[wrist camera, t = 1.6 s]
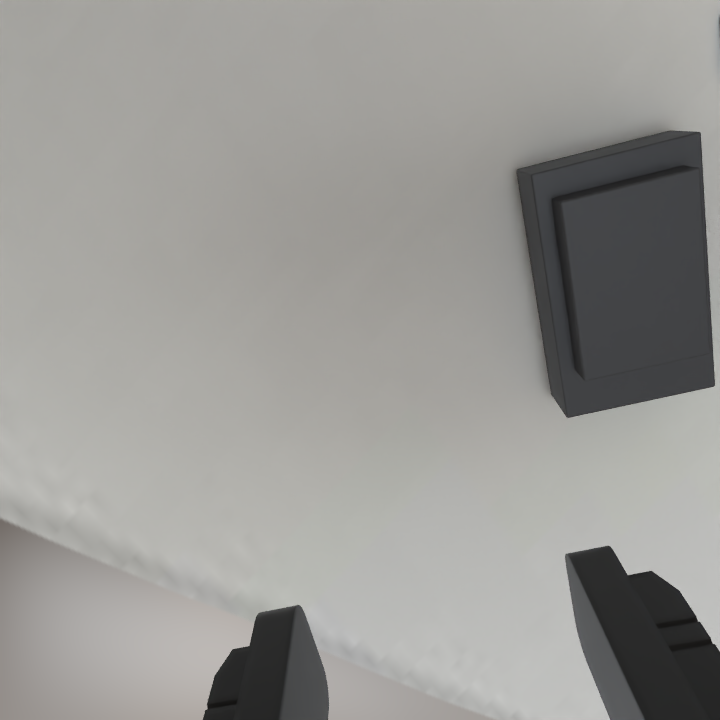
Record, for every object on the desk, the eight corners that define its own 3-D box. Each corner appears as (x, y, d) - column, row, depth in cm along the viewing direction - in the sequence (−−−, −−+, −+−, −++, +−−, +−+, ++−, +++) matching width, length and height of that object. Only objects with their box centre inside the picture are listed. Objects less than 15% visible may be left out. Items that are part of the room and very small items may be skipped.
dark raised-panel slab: (515, 169, 25) (538, 177, 22) (670, 130, 24) (717, 131, 21) (551, 395, 28) (575, 431, 25) (687, 365, 28) (730, 397, 25)
